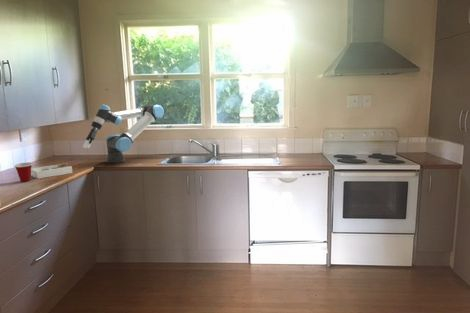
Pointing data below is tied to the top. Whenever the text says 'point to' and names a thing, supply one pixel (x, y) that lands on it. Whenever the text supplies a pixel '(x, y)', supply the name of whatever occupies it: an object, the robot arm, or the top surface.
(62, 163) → the walnut block
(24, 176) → the plastic cup
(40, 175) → the box
